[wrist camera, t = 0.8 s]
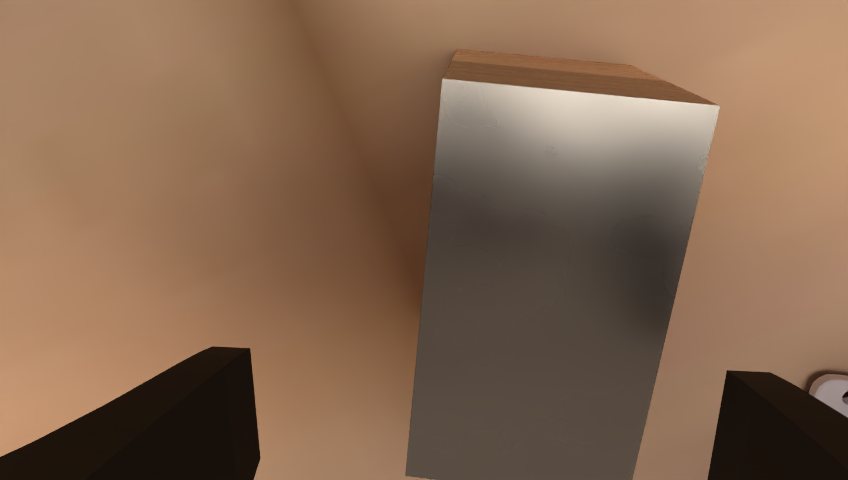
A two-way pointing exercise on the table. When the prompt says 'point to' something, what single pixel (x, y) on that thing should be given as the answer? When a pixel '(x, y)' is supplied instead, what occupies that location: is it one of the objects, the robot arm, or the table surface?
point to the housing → (550, 265)
